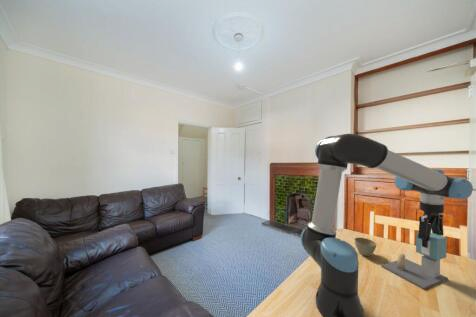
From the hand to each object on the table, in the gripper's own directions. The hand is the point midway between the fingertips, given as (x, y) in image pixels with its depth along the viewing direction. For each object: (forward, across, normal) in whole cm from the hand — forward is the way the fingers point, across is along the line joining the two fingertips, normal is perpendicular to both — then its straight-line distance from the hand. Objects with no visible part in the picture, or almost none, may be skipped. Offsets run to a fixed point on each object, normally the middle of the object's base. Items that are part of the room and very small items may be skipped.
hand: (430, 252), depth 82 cm
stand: (+11, -5, +4) cm, 13 cm away
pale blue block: (+1, 0, 0) cm, 1 cm away
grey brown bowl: (+11, -10, +23) cm, 27 cm away
